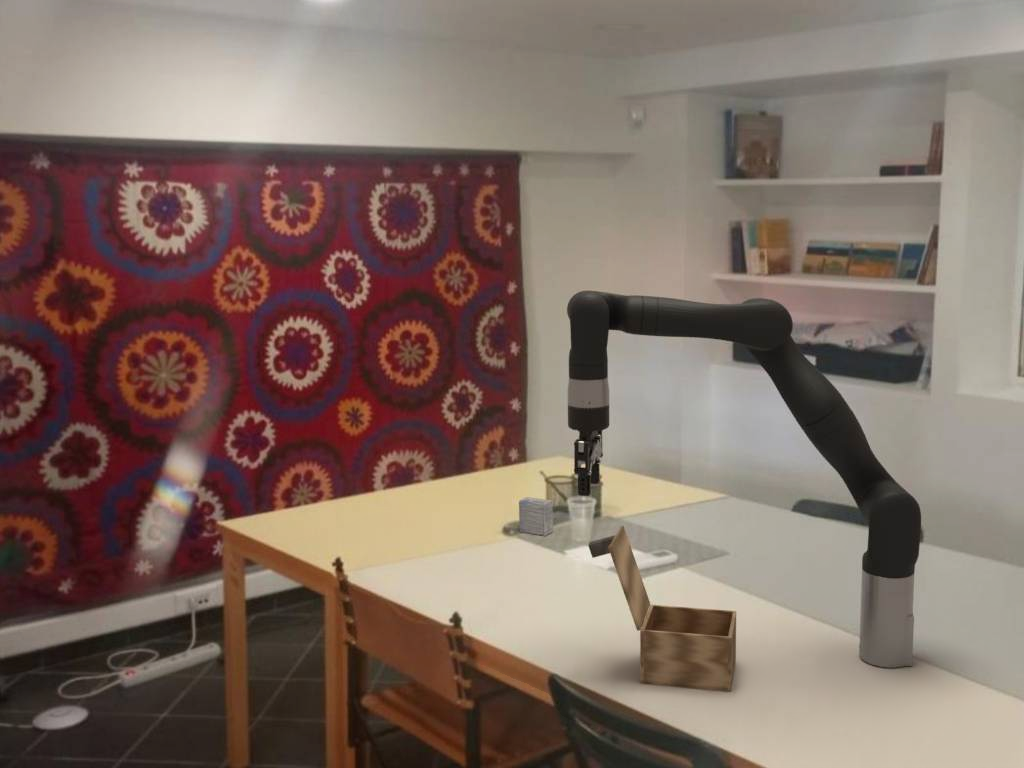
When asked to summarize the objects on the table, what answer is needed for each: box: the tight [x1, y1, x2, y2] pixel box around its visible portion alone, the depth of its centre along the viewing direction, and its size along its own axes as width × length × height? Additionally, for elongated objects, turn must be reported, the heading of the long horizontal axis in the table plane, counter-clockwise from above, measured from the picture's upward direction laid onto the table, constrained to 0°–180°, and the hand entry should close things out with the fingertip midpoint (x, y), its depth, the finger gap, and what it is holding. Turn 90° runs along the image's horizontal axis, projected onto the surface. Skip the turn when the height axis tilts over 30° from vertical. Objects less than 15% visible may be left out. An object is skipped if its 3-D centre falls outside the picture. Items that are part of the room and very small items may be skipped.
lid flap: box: [587, 525, 651, 631], centre depth 204 cm, size 16×13×6 cm
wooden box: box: [639, 604, 737, 693], centre depth 202 cm, size 16×13×10 cm
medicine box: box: [518, 496, 554, 537], centre depth 289 cm, size 8×4×9 cm, turn 58°
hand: (589, 489), depth 202 cm, fingers open, 8 cm apart
